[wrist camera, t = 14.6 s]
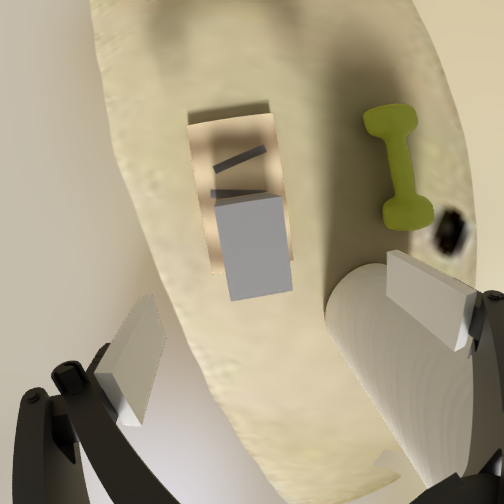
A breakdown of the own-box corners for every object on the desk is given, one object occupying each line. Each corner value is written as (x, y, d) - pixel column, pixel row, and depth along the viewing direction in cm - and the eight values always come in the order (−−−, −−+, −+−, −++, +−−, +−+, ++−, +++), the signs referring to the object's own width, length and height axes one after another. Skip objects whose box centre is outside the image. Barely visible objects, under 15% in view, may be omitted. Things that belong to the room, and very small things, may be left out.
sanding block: (216, 200, 32) (213, 206, 24) (267, 192, 32) (281, 196, 25) (229, 273, 34) (231, 301, 27) (277, 265, 35) (292, 290, 27)
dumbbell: (349, 112, 33) (375, 100, 26) (395, 109, 33) (424, 100, 26) (372, 228, 37) (401, 240, 30) (414, 217, 37) (445, 225, 30)
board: (188, 128, 31) (186, 125, 29) (269, 116, 32) (272, 112, 30) (213, 269, 36) (213, 274, 34) (289, 255, 37) (293, 260, 35)
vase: (314, 278, 38) (469, 470, 7) (400, 248, 38) (579, 348, 8) (329, 357, 42) (421, 525, 11) (404, 326, 42) (524, 445, 12)
